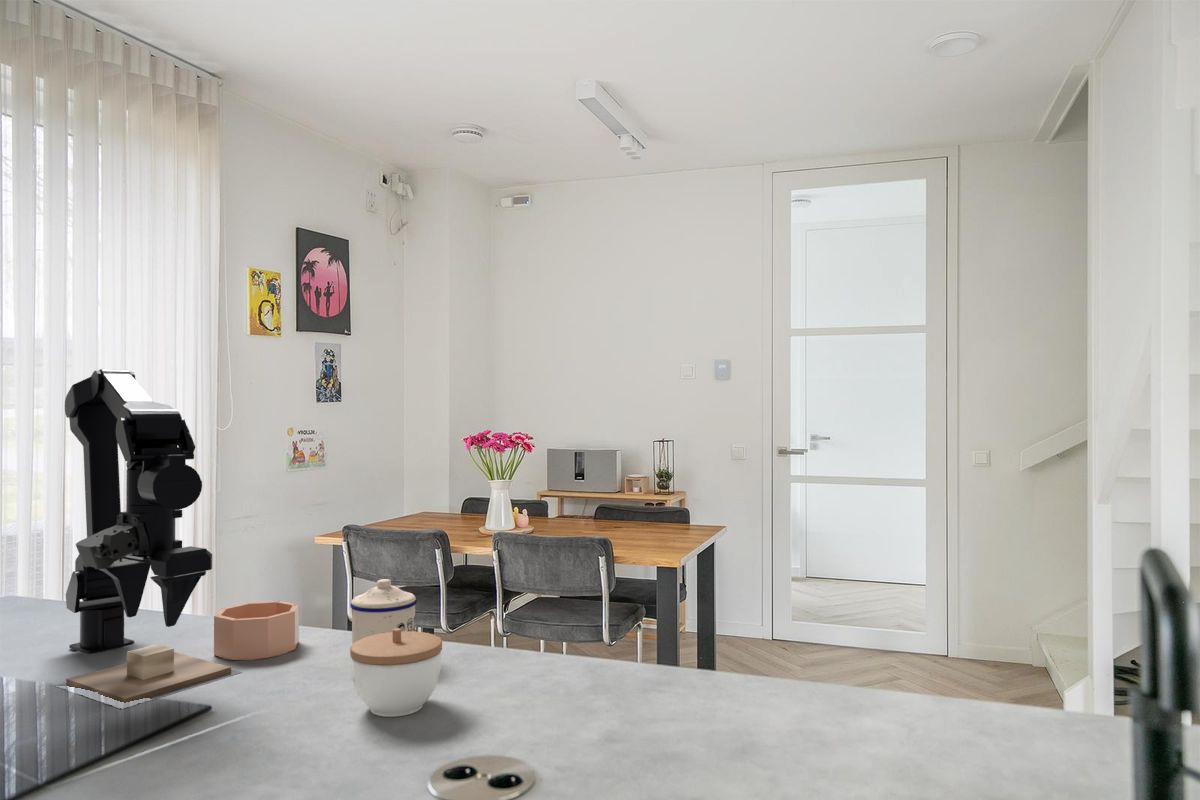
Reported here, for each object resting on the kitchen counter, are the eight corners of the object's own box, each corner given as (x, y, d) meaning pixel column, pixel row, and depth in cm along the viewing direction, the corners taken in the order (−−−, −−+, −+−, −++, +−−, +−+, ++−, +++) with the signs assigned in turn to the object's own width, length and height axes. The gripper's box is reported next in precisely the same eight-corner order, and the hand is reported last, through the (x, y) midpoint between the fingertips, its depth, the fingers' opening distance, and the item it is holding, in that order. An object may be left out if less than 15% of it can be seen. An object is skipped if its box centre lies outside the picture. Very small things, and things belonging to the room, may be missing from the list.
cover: (66, 685, 105) (66, 655, 105) (171, 656, 117) (171, 630, 117) (125, 705, 97) (125, 673, 97) (231, 673, 109) (231, 644, 109)
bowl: (200, 654, 119) (200, 613, 119) (266, 636, 128) (266, 598, 128) (247, 666, 113) (247, 623, 113) (312, 646, 122) (312, 607, 122)
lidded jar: (419, 728, 91) (419, 644, 91) (332, 721, 93) (332, 639, 93) (455, 695, 101) (455, 620, 101) (376, 689, 103) (376, 616, 104)
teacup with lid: (400, 674, 109) (399, 588, 109) (338, 670, 111) (338, 585, 111) (434, 649, 121) (434, 571, 121) (378, 646, 123) (378, 569, 123)
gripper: (49, 505, 105) (48, 625, 105) (127, 514, 96) (126, 647, 95) (135, 497, 115) (135, 607, 115) (215, 505, 105) (214, 625, 105)
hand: (150, 621), depth 107 cm, fingers open, 9 cm apart
